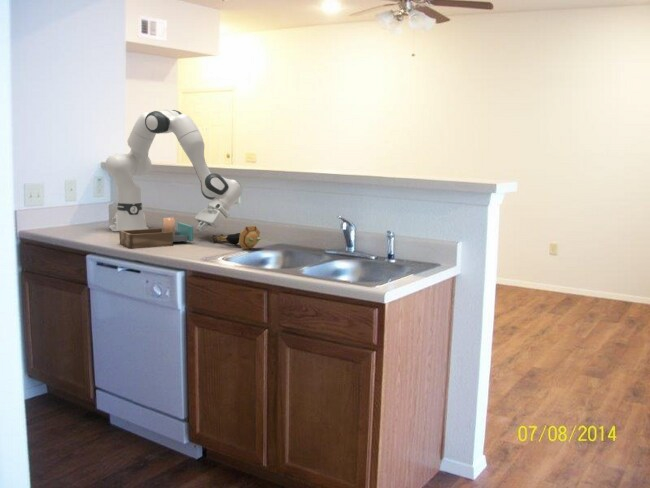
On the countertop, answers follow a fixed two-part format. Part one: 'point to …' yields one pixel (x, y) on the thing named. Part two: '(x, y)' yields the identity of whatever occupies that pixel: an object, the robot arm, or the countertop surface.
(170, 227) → the cylinder
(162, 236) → the brown wooden box
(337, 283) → the countertop surface
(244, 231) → the toy
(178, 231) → the teal tilted board
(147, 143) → the robot arm
